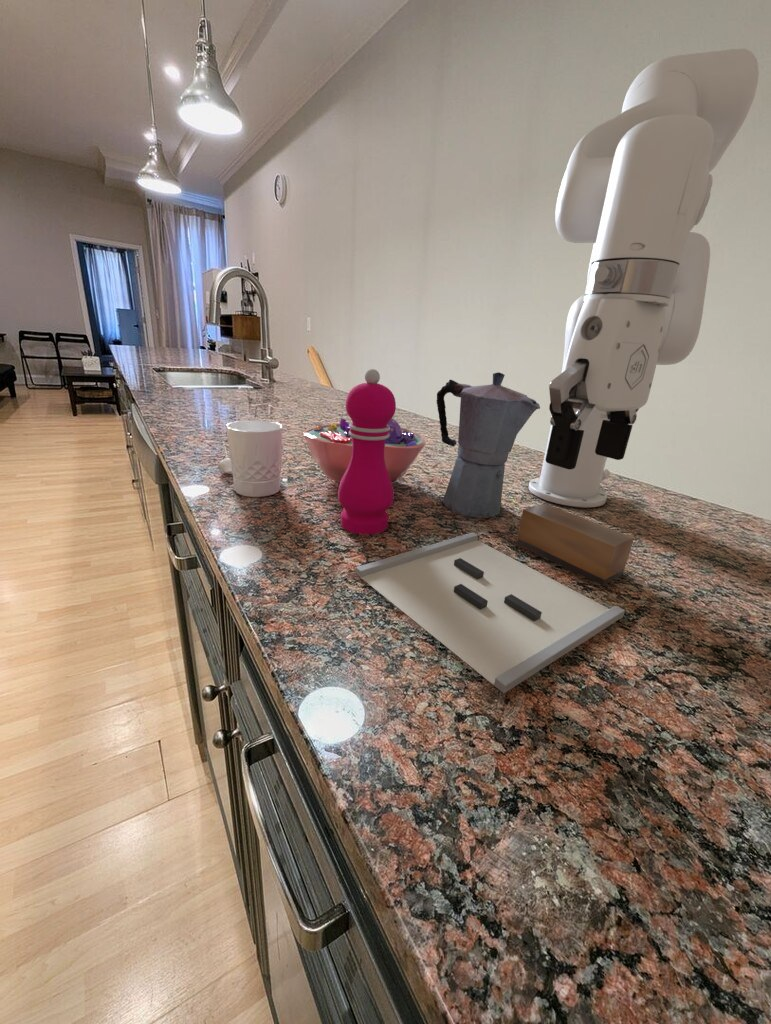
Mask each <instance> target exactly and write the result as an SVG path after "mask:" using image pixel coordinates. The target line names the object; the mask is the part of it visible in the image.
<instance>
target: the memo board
mask: <svg viewBox="0 0 771 1024" xmlns="http://www.w3.org/2000/svg"><path fill="white" fill-rule="evenodd" d="M478 536H479V535H478V534H476V533H475V532H468V533H466V534H461V535H459V536H456V537H452V538H449V539H445V540H441V541H438V542H436V543H433V544H429V545H425V546H422V547H419V548H416V549H412V550H409V551H406V552H403V553H402V552H401V553H399V554H396V555H392V556H389V557H386V558H382V559H379V560H375V561H373V562H369V563H366V564H362V565H359V566H356V567H355V575H356V576H358V577H359V578H360V579H361V580H362V581H364V582H365V583H366V584H368V585H369V586H370V587H371V588H373V589H374V590H375V591H377V592H378V593H379V594H380V595H381V596H382V597H384V598H385V599H386V600H387V601H389V602H390V603H391V604H393V606H395V607H396V608H398V610H400V611H401V612H402V613H404V614H405V616H407V617H409V618H410V619H411V620H412V621H413V622H414V623H416V624H417V625H419V627H421V628H422V629H423V630H425V632H427V633H428V634H429V635H431V636H432V637H433V638H435V639H436V640H437V641H438V642H440V643H441V644H442V645H443V646H444V647H445V648H447V649H448V650H449V651H451V653H452V654H454V655H455V656H456V657H458V658H459V659H461V660H462V661H463V662H464V663H466V664H467V665H468V666H469V667H471V668H472V669H473V670H474V671H475V672H476V673H478V674H479V675H480V676H482V677H483V678H484V679H485V680H486V681H488V682H489V683H490V684H492V685H493V686H494V687H495V688H496V689H497V690H499V691H500V692H501V693H502V694H505V693H507V692H508V691H510V690H512V689H514V688H515V687H516V686H518V685H520V684H521V683H522V682H524V681H526V680H527V679H529V678H531V677H532V676H533V675H535V674H537V673H538V672H539V671H541V670H543V669H545V668H547V666H549V665H551V664H552V663H554V662H556V661H557V660H558V659H560V658H562V657H563V656H565V655H566V654H568V653H569V652H571V651H572V650H574V649H575V648H577V647H579V646H580V645H582V644H583V643H585V642H586V641H588V640H590V639H591V638H593V637H595V636H596V635H597V634H599V633H600V632H602V631H604V630H605V629H607V628H608V627H610V626H611V625H613V624H615V623H616V622H617V621H619V620H621V619H622V618H623V617H624V615H625V612H626V609H624V608H621V607H620V606H618V605H613V606H612V607H611V608H608V607H607V606H604V605H603V604H601V603H599V602H597V601H595V600H593V599H591V598H589V597H587V596H585V595H584V594H582V593H580V592H578V591H576V590H574V589H573V588H570V587H568V586H566V585H564V584H563V583H560V582H558V581H557V580H555V579H553V578H551V577H549V576H547V575H546V574H543V573H542V572H540V571H537V570H535V569H534V568H532V567H530V566H528V565H526V564H524V563H522V562H520V561H518V560H516V559H514V558H513V557H511V556H509V555H507V554H505V553H504V552H502V551H499V550H498V549H496V548H493V547H491V546H489V545H488V544H486V543H484V542H482V541H480V540H478V538H479V537H478ZM459 558H461V559H463V560H465V561H466V562H468V563H470V564H471V565H473V566H475V567H477V568H478V569H480V570H482V571H483V572H484V575H483V577H482V578H480V579H476V578H474V577H472V576H471V575H469V574H468V573H466V572H464V571H463V570H461V569H459V568H458V567H456V566H454V560H456V559H459ZM459 584H462V585H464V586H465V587H467V588H468V589H470V590H472V591H473V592H475V593H476V594H478V595H479V596H481V597H483V598H484V599H486V600H487V601H488V603H487V607H485V608H483V609H481V610H480V609H478V608H477V607H475V606H474V605H472V604H471V603H469V602H468V601H466V600H465V599H463V598H462V597H460V596H459V595H457V594H456V593H454V587H455V586H457V585H459ZM510 594H512V595H514V596H515V597H517V598H519V599H520V600H522V601H524V602H525V603H527V604H529V605H530V606H532V607H534V608H536V609H537V610H539V611H541V612H542V614H541V618H540V619H538V620H536V621H533V620H531V619H529V618H528V617H526V616H525V615H523V614H521V613H520V612H518V611H517V610H515V609H513V608H512V607H510V606H508V605H507V604H505V603H504V600H505V597H506V596H508V595H510Z"/></svg>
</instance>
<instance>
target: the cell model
mask: <svg viewBox="0 0 771 1024" xmlns="http://www.w3.org/2000/svg"><path fill="white" fill-rule="evenodd" d="M350 423H351V422H348V421H347V419H346V418H340V422H339V423H334V422H333V423H331V424H317V425H316V426H313V427H311V428H307V429H306V430H304V431H303V433H302V434H303V437H304V440H305V442H306V444H307V445H306V446H307V447H308V450H309V453H310V455H311V456H312V458H313V460H314V462H315V463H316V464H317V465H318V467H319V468H320V469H321V471H322V473H323V474H324V475H325V476H326V477H327V478H328V479H330V480H331V481H335V482H337V483H340V482H341V479H342V477H343V475H344V473H345V472H346V470H347V468H348V466H349V463H350V460H351V456H352V437H351V436H350V435H349V431H350V427H349V424H350ZM387 425H389V426H390V430H389V435H390V436H389V438H387V439H386V441H385V447H384V459H385V464H386V468H387V471H388V473H389V476H390V479H391V481H392V483H394V482H396V481H397V480H399V479H401V478H403V477H404V475H405V474H406V473H407V472H408V470H409V469H410V467H411V466H412V465H413V464H414V462H416V459H418V456H419V455H420V453H421V452H422V451H423V449H424V447H425V446H426V445H427V441H426V439H425V437H424V436H422V435H420V434H418V433H415V432H413V431H411V430H409V429H407V428H403V427H401V425H400V424H399V422H398V421H397V420H396V419H394V418H393V417H392V418H391V419H390V420H389V422H388V424H387Z"/></svg>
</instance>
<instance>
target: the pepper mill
mask: <svg viewBox="0 0 771 1024" xmlns="http://www.w3.org/2000/svg"><path fill="white" fill-rule="evenodd" d="M380 379H381V375H380V372H379V371H378V370H377V369H375V368H370V369H368V370H366V371H365V373H364V380H365V382H361V383H359V384H356V385H355V386H353V387H352V388H351V389H350V390H349V391H348V393H347V395H346V399H345V412H346V415H348V417H349V418H350V420H351V422H349V423H350V424H349V427H350V431H349V435H350V436H351V437H352V456H351V460H350V463H349V466H348V468H347V470H346V472H345V473H344V475H343V477H342V479H341V482H339V486H338V491H337V500H338V502H339V505H340V506H341V507H342V508H343V510H341V512H340V526H341V528H342V529H344V530H345V531H347V532H349V533H351V534H357V535H376V534H381V533H382V532H385V531H386V530H387V529H388V527H389V513H388V512H387V510H388V509H389V508H390V507H391V506H392V504H393V503H394V496H395V495H394V493H395V491H394V487H393V482H392V481H391V479H390V476H389V473H388V471H387V468H386V464H385V459H384V447H385V441H386V439H387V438H389V436H390V435H389V430H390V426H389V425H387V424H388V422H389V420H390V419H391V418H393V417H394V415H395V413H396V410H397V409H396V407H397V404H396V403H397V402H396V398H395V394H393V392H392V391H391V390H390V388H388V387H387V386H385V385H384V384H381V383H379V382H380Z"/></svg>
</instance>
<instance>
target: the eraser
mask: <svg viewBox="0 0 771 1024" xmlns="http://www.w3.org/2000/svg"><path fill="white" fill-rule="evenodd" d="M516 537H517V539H516V542H515V544H516V545H517V546H519V547H522V548H524V549H526V550H528V551H530V552H532V553H534V554H536V555H538V556H541V557H543V558H544V559H546V560H548V561H550V562H552V563H555V564H557V565H559V566H561V567H563V568H565V569H566V570H569V571H571V572H573V573H575V574H577V575H579V576H581V577H583V578H585V579H587V580H589V581H590V582H591V581H592V582H593V583H595V584H598V585H600V586H602V587H603V586H605V585H607V584H609V583H611V582H613V581H614V580H616V579H619V578H620V577H622V576H623V575H624V572H625V568H626V566H627V562H628V559H629V556H630V553H631V549H632V547H633V544H634V540H635V537H633V536H630V535H628V534H625V533H623V532H620V531H617V530H614V529H612V528H610V527H607V526H605V525H602V524H599V523H597V522H595V521H591V520H589V519H587V518H584V517H582V516H578V515H576V514H574V513H571V512H568V511H565V510H563V509H561V508H557V507H555V506H553V505H550V504H547V503H545V502H544V503H540V504H537V505H534V506H531V507H526V508H523V509H522V512H521V518H520V522H519V528H518V533H517V536H516Z"/></svg>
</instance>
